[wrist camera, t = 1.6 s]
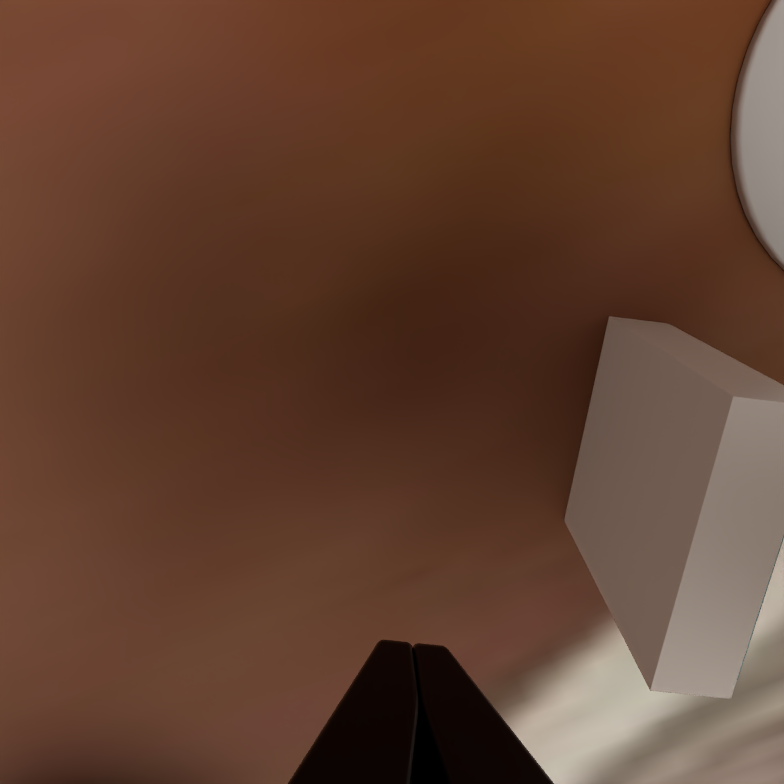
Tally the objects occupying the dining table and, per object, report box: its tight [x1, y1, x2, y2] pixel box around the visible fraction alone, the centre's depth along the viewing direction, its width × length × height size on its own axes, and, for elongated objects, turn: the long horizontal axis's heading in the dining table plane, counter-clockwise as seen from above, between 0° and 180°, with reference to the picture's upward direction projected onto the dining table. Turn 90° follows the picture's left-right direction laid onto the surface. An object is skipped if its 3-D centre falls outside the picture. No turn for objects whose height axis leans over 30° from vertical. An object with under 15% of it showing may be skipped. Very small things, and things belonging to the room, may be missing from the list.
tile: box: [564, 316, 784, 699], centre depth 16 cm, size 6×2×7 cm, turn 173°
